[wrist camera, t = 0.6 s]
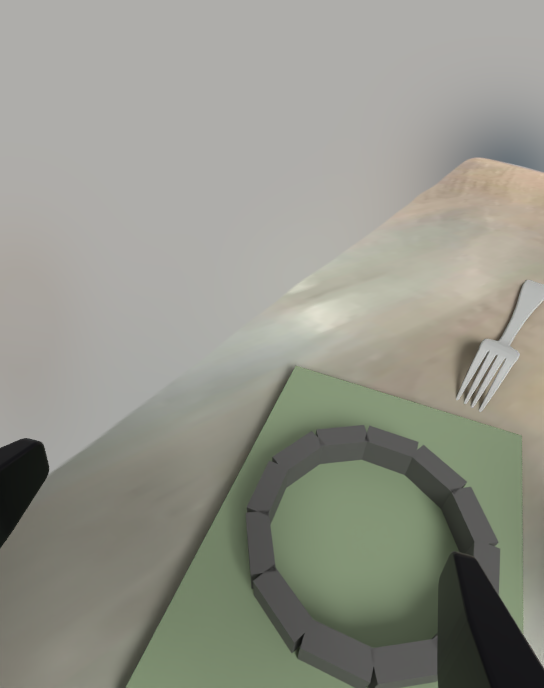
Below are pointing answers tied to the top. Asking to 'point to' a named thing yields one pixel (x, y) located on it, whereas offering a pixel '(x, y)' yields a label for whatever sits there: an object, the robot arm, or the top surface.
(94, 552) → the top surface
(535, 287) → the fork
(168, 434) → the top surface
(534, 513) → the top surface
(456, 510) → the green base with ring
